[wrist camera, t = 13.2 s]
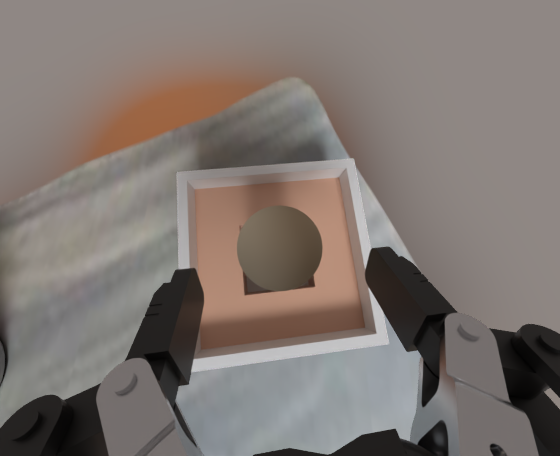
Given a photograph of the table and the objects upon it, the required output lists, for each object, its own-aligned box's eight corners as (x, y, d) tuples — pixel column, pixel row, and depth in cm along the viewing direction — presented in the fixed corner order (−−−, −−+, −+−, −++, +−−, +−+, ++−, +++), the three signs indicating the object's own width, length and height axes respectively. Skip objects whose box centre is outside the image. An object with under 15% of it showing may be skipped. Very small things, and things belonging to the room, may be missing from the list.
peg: (257, 282, 22) (241, 297, 10) (252, 241, 22) (232, 210, 11) (297, 276, 22) (329, 284, 10) (291, 236, 23) (315, 200, 11)
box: (205, 345, 21) (181, 373, 15) (198, 196, 24) (176, 171, 18) (357, 325, 22) (389, 344, 16) (333, 185, 25) (353, 158, 19)
